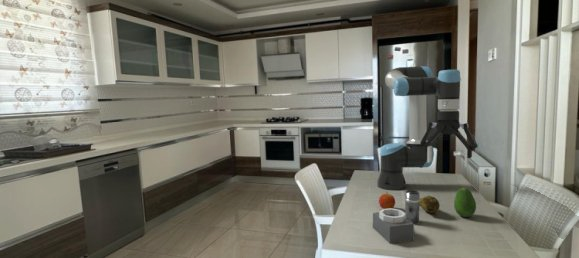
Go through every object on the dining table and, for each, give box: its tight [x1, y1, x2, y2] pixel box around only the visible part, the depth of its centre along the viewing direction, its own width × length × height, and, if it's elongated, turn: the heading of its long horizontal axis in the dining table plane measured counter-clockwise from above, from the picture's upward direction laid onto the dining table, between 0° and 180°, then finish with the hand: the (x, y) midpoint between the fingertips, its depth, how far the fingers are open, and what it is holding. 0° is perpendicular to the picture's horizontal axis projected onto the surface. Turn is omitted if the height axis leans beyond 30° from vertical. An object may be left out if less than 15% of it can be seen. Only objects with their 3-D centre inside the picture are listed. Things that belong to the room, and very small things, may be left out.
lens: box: [404, 189, 421, 225], centre depth 125 cm, size 5×5×12 cm
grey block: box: [372, 208, 415, 244], centre depth 115 cm, size 13×9×8 cm
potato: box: [419, 195, 441, 213], centre depth 134 cm, size 8×13×8 cm, turn 156°
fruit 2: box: [453, 187, 477, 218], centre depth 128 cm, size 8×8×12 cm
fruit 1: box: [378, 193, 396, 209], centre depth 140 cm, size 7×7×8 cm
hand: (447, 164), depth 124 cm, fingers open, 13 cm apart
